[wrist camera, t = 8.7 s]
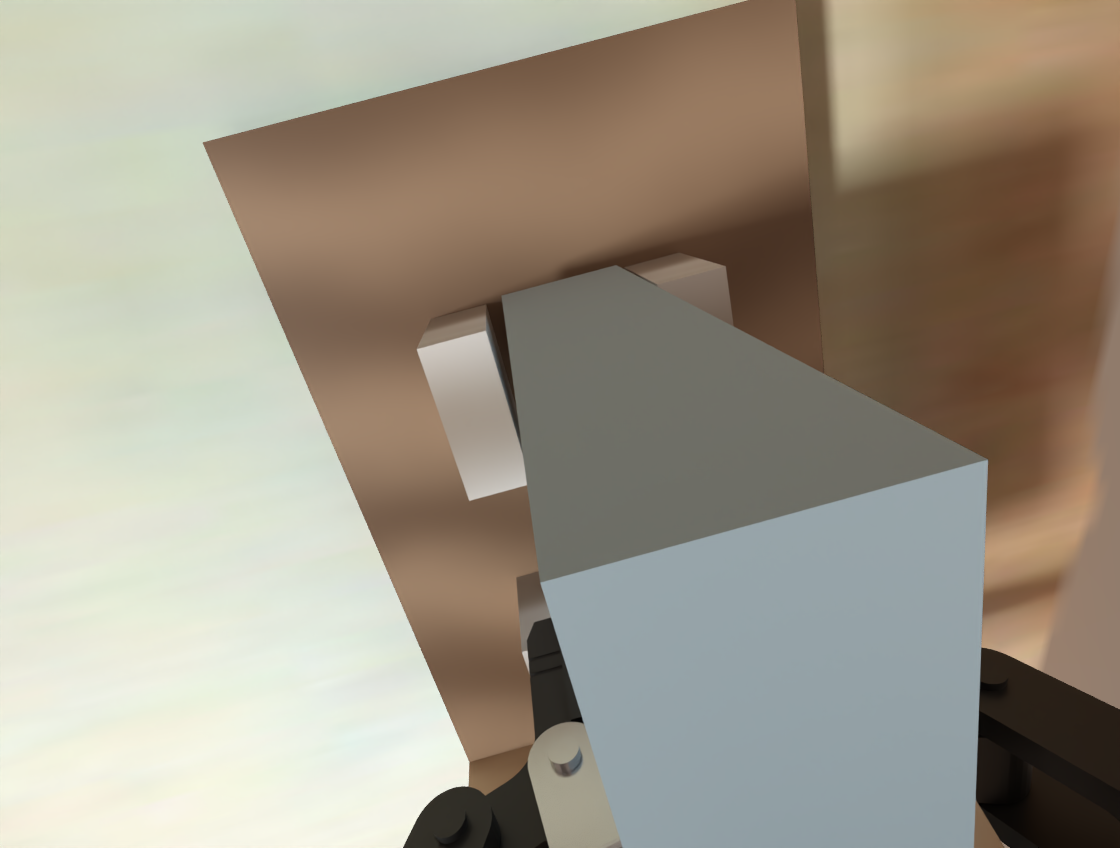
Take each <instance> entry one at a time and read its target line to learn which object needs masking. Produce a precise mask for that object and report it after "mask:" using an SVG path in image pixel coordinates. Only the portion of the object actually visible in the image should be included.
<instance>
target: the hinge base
mask: <svg viewBox="0 0 1120 848" xmlns="http://www.w3.org/2000/svg"><path fill="white" fill-rule="evenodd" d="M203 145H204V147H205V149H206V152H207V154H208V156H209V158H210V161H211V163H212V165H213V168H214V170H215V172H216V175H217V177H218V179H219V182H220V184H221V186H222V189H223V191H224V193H225V196H226V198H227V200H228V203H229V205H230V207H231V210H232V212H233V214H234V217H235V219H236V221H237V223H238V226H239V228H240V230H241V233H242V235H243V237H244V240H245V242H246V244H247V247H248V249H249V251H250V254H251V256H252V258H253V261H254V263H255V265H256V268H257V270H258V272H259V275H260V277H261V279H262V282H263V284H264V286H265V288H266V291H267V293H268V295H269V298H270V300H271V302H272V305H273V307H274V309H275V312H276V314H277V316H278V319H279V321H280V323H281V326H282V328H283V330H284V333H285V335H286V337H287V340H288V342H289V344H290V347H291V349H292V351H293V353H294V356H295V358H296V360H297V363H298V365H299V367H300V370H301V372H302V374H303V377H304V379H305V381H306V384H307V386H308V388H309V391H310V393H311V395H312V398H313V400H314V402H315V405H316V407H317V409H318V411H319V414H320V416H321V418H322V421H323V423H324V425H325V428H326V430H327V432H328V435H329V437H330V439H331V442H332V444H333V446H334V449H335V451H336V453H337V456H338V458H339V460H340V463H341V465H342V467H343V470H344V472H345V474H346V476H347V479H348V481H349V483H350V486H351V488H352V490H353V493H354V495H355V497H356V500H357V502H358V504H359V507H360V509H361V511H362V514H363V516H364V518H365V521H366V523H367V525H368V528H369V530H370V532H371V535H372V537H373V539H374V541H375V544H376V546H377V548H378V551H379V553H380V555H381V558H382V560H383V562H384V565H385V567H386V569H387V572H388V574H389V576H390V579H391V581H392V583H393V586H394V588H395V590H396V593H397V595H398V597H399V600H400V602H401V604H402V606H403V609H404V611H405V613H406V616H407V618H408V620H409V623H410V625H411V627H412V630H413V632H414V634H415V637H416V639H417V641H418V644H419V646H420V648H421V651H422V653H423V655H424V658H425V660H426V662H427V665H428V667H429V669H430V671H431V674H432V676H433V678H434V681H435V683H436V685H437V688H438V690H439V692H440V695H441V697H442V699H443V702H444V704H445V706H446V709H447V711H448V713H449V716H450V718H451V720H452V723H453V725H454V727H455V730H456V732H457V734H458V736H459V739H460V741H461V743H462V746H463V748H464V750H465V753H466V755H467V757H468V760H469V762H470V763H469V787H472V788H475V789H477V790H479V791H481V792H482V793H483V794H484V795H487V794H488V793H490V792H492V791H493V790H495V789H496V788H498V787H499V786H501V785H503V784H504V783H506V782H507V781H509V780H510V779H511V778H513V777H514V776H515V775H516V774H517V773H518V772H519V771H520V770H521V769H522V768H523V767H524V765H525V764H526V762H527V761H528V757H529V753H530V750H531V748H532V746H533V744H534V742H535V730H534V719H533V707H532V696H531V685H530V673H529V660H528V650H527V639H528V636H529V634H530V631H531V629H532V626H533V624H534V622H537V621H540V620H544V619H547V618H551V616H550V612H549V609H548V606H547V603H546V600H545V596H544V593H543V590H542V587H541V584H540V577H539V570H538V562H537V555H536V548H535V540H534V533H533V525H532V518H531V511H530V503H529V496H528V488H527V481H526V474H525V466H524V459H523V451H522V444H521V437H520V429H519V422H518V414H517V407H516V400H515V392H514V385H513V377H512V370H511V363H510V355H509V348H508V340H507V333H506V326H505V318H504V311H503V303H502V295H506V294H509V293H513V292H517V291H521V290H524V289H528V288H532V287H536V286H539V285H543V284H547V283H551V282H554V281H558V280H562V279H566V278H569V277H573V276H577V275H581V274H585V273H588V272H592V271H596V270H600V269H603V268H607V267H611V266H615V265H617V266H619V267H621V268H623V269H625V270H626V271H628V272H630V273H632V274H634V275H636V276H638V277H640V278H642V279H644V280H646V281H648V282H649V283H651V284H653V285H655V286H657V287H659V288H661V289H663V290H665V291H667V292H669V293H670V294H672V295H674V296H676V297H678V298H680V299H682V300H684V301H686V302H688V303H690V304H692V305H693V306H695V307H697V308H699V309H701V310H703V311H705V312H707V313H709V314H711V315H713V316H714V317H716V318H718V319H720V320H722V321H724V322H726V323H728V324H730V325H732V326H734V327H736V328H737V329H739V330H741V331H743V332H745V333H747V334H749V335H751V336H753V337H755V338H757V339H758V340H760V341H762V342H764V343H766V344H768V345H770V346H772V347H774V348H776V349H778V350H780V351H781V352H783V353H785V354H787V355H789V356H791V357H793V358H795V359H797V360H799V361H801V362H802V363H804V364H806V365H808V366H810V367H812V368H814V369H816V370H818V371H820V372H822V373H824V366H823V353H822V340H821V327H820V314H819V301H818V288H817V274H816V261H815V248H814V235H813V222H812V209H811V196H810V182H809V169H808V156H807V143H806V130H805V117H804V103H803V90H802V77H801V64H800V51H799V38H798V25H797V11H796V0H748V1H744V2H740V3H736V4H733V5H729V6H725V7H721V8H717V9H713V10H709V11H706V12H702V13H698V14H694V15H690V16H686V17H683V18H679V19H675V20H671V21H667V22H663V23H660V24H656V25H652V26H648V27H644V28H640V29H637V30H633V31H629V32H625V33H621V34H617V35H614V36H610V37H606V38H602V39H598V40H594V41H591V42H587V43H583V44H579V45H575V46H571V47H568V48H564V49H560V50H556V51H552V52H548V53H545V54H541V55H537V56H533V57H529V58H525V59H522V60H518V61H514V62H510V63H506V64H502V65H499V66H495V67H491V68H487V69H483V70H479V71H476V72H472V73H468V74H464V75H460V76H456V77H453V78H449V79H445V80H441V81H437V82H433V83H429V84H426V85H422V86H418V87H414V88H410V89H406V90H403V91H399V92H395V93H391V94H387V95H383V96H380V97H376V98H372V99H368V100H364V101H360V102H357V103H353V104H349V105H345V106H341V107H337V108H334V109H330V110H326V111H322V112H318V113H314V114H311V115H307V116H303V117H299V118H295V119H291V120H288V121H284V122H280V123H276V124H272V125H268V126H265V127H261V128H257V129H253V130H249V131H245V132H242V133H238V134H234V135H230V136H226V137H222V138H219V139H215V140H211V141H207V142H203Z"/></svg>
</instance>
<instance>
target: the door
mask: <svg viewBox="0 0 1120 848" xmlns="http://www.w3.org/2000/svg"><path fill="white" fill-rule="evenodd" d="M502 303H503V311H504V318H505V326H506V333H507V340H508V348H509V355H510V363H511V370H512V377H513V385H514V392H515V400H516V407H517V414H518V422H519V429H520V437H521V444H522V451H523V459H524V466H525V474H526V481H527V488H528V496H529V503H530V511H531V518H532V525H533V533H534V540H535V548H536V555H537V562H538V570H539V577H540V584H541V587H542V590H543V593H544V596H545V600H546V603H547V606H548V609H549V612H550V616H551V619H552V622H553V625H554V629H555V632H556V635H557V638H558V641H559V645H560V648H561V651H562V654H563V657H564V661H565V664H566V667H567V670H568V673H569V677H570V680H571V683H572V686H573V690H574V693H575V696H576V699H577V702H578V706H579V709H580V712H581V715H582V718H583V722H584V725H585V728H586V731H587V735H588V738H589V741H590V744H591V747H592V751H593V754H594V757H595V760H596V763H597V767H598V770H599V773H600V776H601V779H602V783H603V786H604V789H605V792H606V796H607V799H608V802H609V805H610V808H611V812H612V815H613V818H614V821H615V824H616V828H617V831H618V834H619V837H620V840H621V844H622V847H623V848H974V829H975V802H976V775H977V747H978V720H979V693H980V666H981V639H982V612H983V584H984V557H985V530H986V503H987V476H988V459H986V458H984V457H982V456H980V455H978V454H977V453H975V452H973V451H971V450H969V449H967V448H965V447H963V446H961V445H959V444H957V443H956V442H954V441H952V440H950V439H948V438H946V437H944V436H942V435H940V434H938V433H936V432H934V431H933V430H931V429H929V428H927V427H925V426H923V425H921V424H919V423H917V422H915V421H913V420H912V419H910V418H908V417H906V416H904V415H902V414H900V413H898V412H896V411H894V410H892V409H890V408H889V407H887V406H885V405H883V404H881V403H879V402H877V401H875V400H873V399H871V398H869V397H868V396H866V395H864V394H862V393H860V392H858V391H856V390H854V389H852V388H850V387H848V386H846V385H845V384H843V383H841V382H839V381H837V380H835V379H833V378H831V377H829V376H827V375H825V374H824V373H822V372H820V371H818V370H816V369H814V368H812V367H810V366H808V365H806V364H804V363H802V362H801V361H799V360H797V359H795V358H793V357H791V356H789V355H787V354H785V353H783V352H781V351H780V350H778V349H776V348H774V347H772V346H770V345H768V344H766V343H764V342H762V341H760V340H758V339H757V338H755V337H753V336H751V335H749V334H747V333H745V332H743V331H741V330H739V329H737V328H736V327H734V326H732V325H730V324H728V323H726V322H724V321H722V320H720V319H718V318H716V317H714V316H713V315H711V314H709V313H707V312H705V311H703V310H701V309H699V308H697V307H695V306H693V305H692V304H690V303H688V302H686V301H684V300H682V299H680V298H678V297H676V296H674V295H672V294H670V293H669V292H667V291H665V290H663V289H661V288H659V287H657V286H655V285H653V284H651V283H649V282H648V281H646V280H644V279H642V278H640V277H638V276H636V275H634V274H632V273H630V272H628V271H626V270H625V269H623V268H621V267H619V266H617V265H615V266H611V267H607V268H603V269H600V270H596V271H592V272H588V273H585V274H581V275H577V276H573V277H569V278H566V279H562V280H558V281H554V282H551V283H547V284H543V285H539V286H536V287H532V288H528V289H524V290H521V291H517V292H513V293H509V294H506V295H502Z"/></svg>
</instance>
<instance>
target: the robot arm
mask: <svg viewBox="0 0 1120 848" xmlns="http://www.w3.org/2000/svg"><path fill="white" fill-rule="evenodd" d="M527 650H528V660H529V673H530V685H531V696H532V707H533V719H534V730H535V742H534V744H533V746H532V748H531V750H530V753H529V757H528V761H527V762H526V764H525V765H524V767H523V768H522V769H521V770H520V771H519V772H518V773H517V774H516V775H515V776H514V777H513V778H511V779H510V780H509V781H507V782H506V783H504V784H503V785H501V786H499V787H498V788H496V789H495V790H493V791H492V792H490V793H488V794H487V795H484V794H483V793H482V792H481V791H479V790H477V789H475V788H472V787H456V788H452V789H449V790H447V791H445V792H443V793H441V794H440V795H438V796H437V797H435V798H434V799H433V800H432V801H431V802H430V803H429V804H428V805H427V806H426V807H425V808H424V810H423V811H422V812H421V814H420V815H419V817H418V819H417V820H416V822H415V825H414V827H413V829H412V831H411V833H410V835H409V837H408V839H407V841H406V843H405V845H404V847H403V848H623V847H622V844H621V840H620V837H619V834H618V831H617V828H616V824H615V821H614V818H613V815H612V812H611V808H610V805H609V802H608V799H607V796H606V792H605V789H604V786H603V783H602V779H601V776H600V773H599V770H598V767H597V763H596V760H595V757H594V754H593V751H592V747H591V744H590V741H589V738H588V735H587V731H586V728H585V725H584V722H583V718H582V715H581V712H580V709H579V706H578V702H577V699H576V696H575V693H574V690H573V686H572V683H571V680H570V677H569V673H568V670H567V667H566V664H565V661H564V657H563V654H562V651H561V648H560V645H559V641H558V638H557V635H556V632H555V629H554V625H553V622H552V619H551V618H547V619H544V620H540V621H537V622H534V624H533V626H532V629H531V631H530V634H529V636H528V639H527ZM1002 842H1003V843H1004V844H1006V845H1007V846H1008V847H1010V848H1120V709H1118V708H1115V707H1113V706H1111V705H1109V704H1107V703H1105V702H1103V701H1101V700H1098V699H1097V698H1095V697H1093V696H1091V695H1089V694H1086V693H1084V692H1082V691H1080V690H1078V689H1076V688H1074V687H1072V686H1070V685H1068V684H1066V683H1064V682H1062V681H1060V680H1058V679H1056V678H1053V677H1051V676H1049V675H1047V674H1045V673H1043V672H1041V671H1039V670H1037V669H1035V668H1033V667H1031V666H1029V665H1027V664H1025V663H1022V662H1020V661H1018V660H1016V659H1014V658H1012V657H1010V656H1008V655H1006V654H1003V653H1001V652H998V651H995V650H991V649H987V648H981V666H980V693H979V720H978V747H977V775H976V802H975V829H974V848H1004V846H1003V844H1002Z"/></svg>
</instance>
